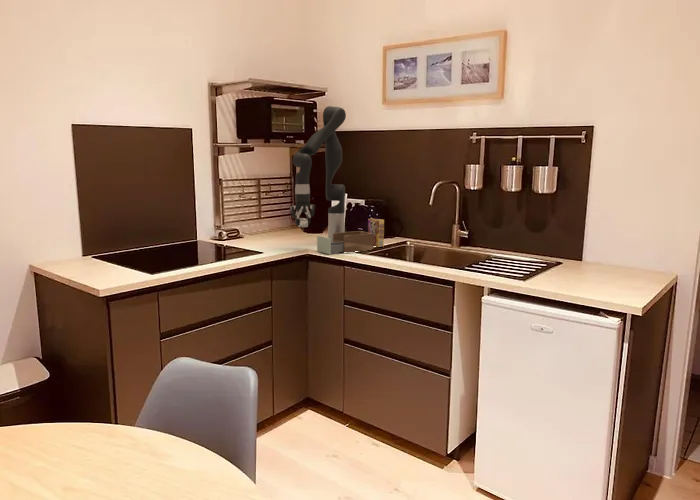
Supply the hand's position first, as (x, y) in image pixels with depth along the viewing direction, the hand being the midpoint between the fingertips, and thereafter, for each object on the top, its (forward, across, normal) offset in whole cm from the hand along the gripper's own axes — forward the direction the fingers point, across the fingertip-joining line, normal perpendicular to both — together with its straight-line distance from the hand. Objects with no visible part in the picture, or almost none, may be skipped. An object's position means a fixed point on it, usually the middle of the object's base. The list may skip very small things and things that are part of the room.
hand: (302, 225), depth 279 cm
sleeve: (+13, -21, +14) cm, 29 cm away
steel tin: (+1, 0, 0) cm, 1 cm away
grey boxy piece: (+13, -13, +15) cm, 24 cm away
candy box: (+14, -38, +11) cm, 42 cm away
